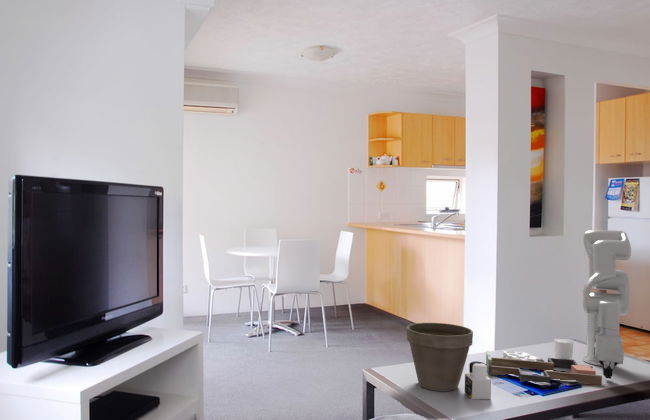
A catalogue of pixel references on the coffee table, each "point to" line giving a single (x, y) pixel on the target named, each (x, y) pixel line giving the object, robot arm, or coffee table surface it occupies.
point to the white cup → (563, 348)
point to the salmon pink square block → (582, 369)
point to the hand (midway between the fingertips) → (607, 377)
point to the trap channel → (513, 367)
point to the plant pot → (439, 353)
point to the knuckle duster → (520, 356)
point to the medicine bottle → (478, 382)
